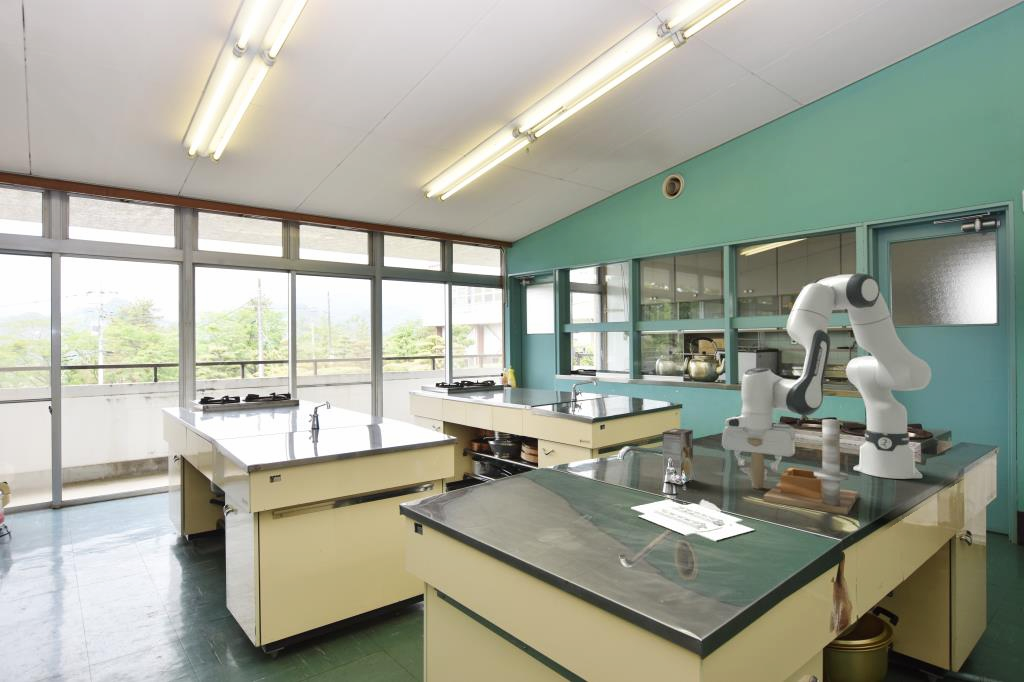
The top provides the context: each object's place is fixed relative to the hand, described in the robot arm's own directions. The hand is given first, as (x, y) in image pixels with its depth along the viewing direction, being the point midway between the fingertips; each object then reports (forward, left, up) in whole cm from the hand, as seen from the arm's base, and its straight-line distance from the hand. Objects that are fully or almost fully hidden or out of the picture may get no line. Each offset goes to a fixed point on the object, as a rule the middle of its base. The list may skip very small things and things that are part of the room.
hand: (757, 467), depth 165 cm
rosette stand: (+3, +15, -6) cm, 17 cm away
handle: (0, 0, -6) cm, 6 cm away
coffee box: (+7, -22, -6) cm, 24 cm away
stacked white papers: (+40, -6, -7) cm, 41 cm away
